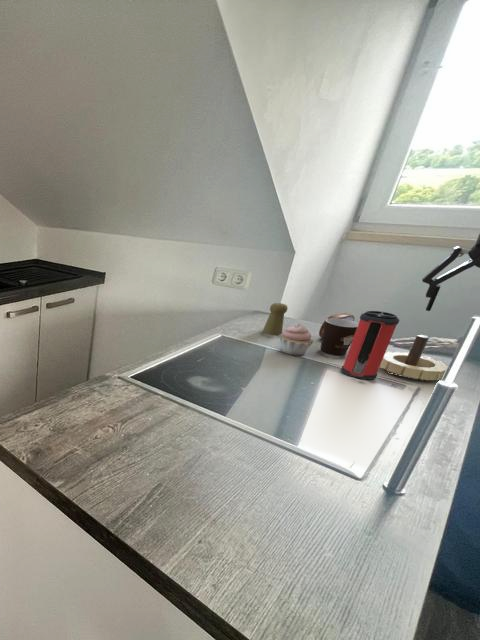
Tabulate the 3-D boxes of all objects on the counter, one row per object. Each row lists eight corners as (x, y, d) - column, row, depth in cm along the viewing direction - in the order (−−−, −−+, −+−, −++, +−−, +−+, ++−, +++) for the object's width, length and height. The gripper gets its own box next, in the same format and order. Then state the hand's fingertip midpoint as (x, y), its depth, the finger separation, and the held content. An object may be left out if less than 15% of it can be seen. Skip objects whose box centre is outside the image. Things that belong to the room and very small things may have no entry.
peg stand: (426, 372, 111) (443, 335, 107) (426, 381, 106) (444, 343, 101) (388, 364, 116) (403, 329, 112) (387, 373, 111) (402, 336, 107)
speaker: (337, 374, 112) (359, 314, 104) (343, 366, 116) (365, 308, 109) (373, 382, 106) (398, 320, 99) (378, 374, 111) (402, 313, 103)
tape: (444, 368, 110) (448, 360, 109) (446, 385, 102) (450, 376, 101) (379, 356, 119) (383, 348, 118) (376, 370, 110) (379, 362, 109)
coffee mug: (320, 355, 124) (330, 325, 120) (312, 345, 131) (321, 317, 127) (366, 360, 120) (378, 329, 116) (355, 349, 127) (366, 320, 123)
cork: (285, 335, 140) (293, 306, 136) (266, 335, 141) (274, 305, 137) (277, 330, 146) (285, 301, 141) (259, 329, 147) (267, 301, 142)
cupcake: (272, 345, 132) (280, 317, 128) (305, 349, 129) (314, 320, 125) (277, 355, 125) (285, 325, 121) (312, 359, 121) (322, 329, 117)
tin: (340, 332, 142) (348, 310, 138) (350, 335, 139) (359, 312, 136) (315, 339, 136) (322, 316, 133) (325, 342, 134) (333, 318, 130)
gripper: (431, 227, 97) (398, 309, 106) (602, 232, 81) (547, 328, 90) (430, 224, 102) (399, 303, 111) (591, 229, 86) (540, 320, 94)
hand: (465, 314), depth 100 cm, fingers open, 13 cm apart
